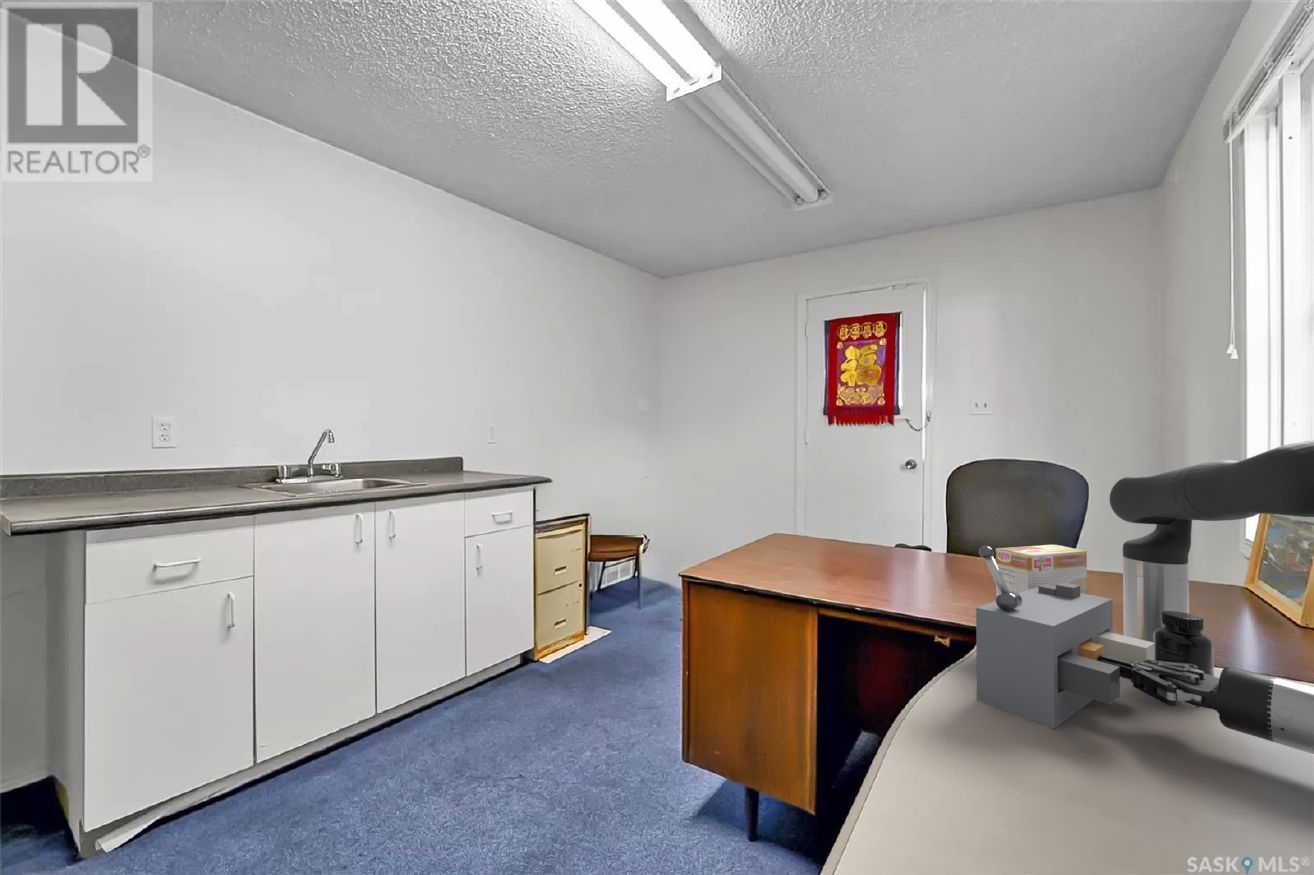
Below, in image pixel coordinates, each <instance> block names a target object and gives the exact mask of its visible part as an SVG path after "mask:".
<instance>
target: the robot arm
mask: <svg viewBox="0 0 1314 875" xmlns="http://www.w3.org/2000/svg"><path fill="white" fill-rule="evenodd" d="M1108 500H1109V504H1110V508H1111V510H1112V511H1113V512H1114V514H1115V515H1116V516H1117V517H1118V518H1119V519H1121V520H1123V521H1125V522H1127V523H1130V524H1131V523H1132V524H1140V525H1143V524H1144V525H1156V526H1155V529H1153V531H1152V532H1150V533H1148V534H1146V535H1144V536H1142V537H1138V538H1133V539H1130V540H1126V541H1124V543H1123V545H1122V577H1123V578H1122V579H1123V580H1122V583H1123V584H1122V589H1123V590H1122V592H1123V593H1122V594H1123V595H1122V596H1123V599H1122V600H1123V613H1122V614H1123V625H1122V627H1123V636H1127V637H1132V638H1136V639H1140V640H1145V641H1149V642H1153V643H1154V639H1153V634H1154V631H1155V630H1156V629H1157V628H1159V627H1163V624H1162V623H1161V619H1162V612H1163V611H1176V612H1183V613H1188V614H1190V604H1189V602H1190V593H1189V591H1190V590H1189V583H1190V582H1189V581H1190V580H1189V554H1190V550H1191V547H1192V524H1193V521H1203V522H1205V521H1206V522H1221V521H1235V520H1237V521H1238V520H1243V519H1244V520H1245V519H1249V518H1253V517H1255V516H1258V515H1259V514H1260V515H1261V514H1263V515H1264V514H1265V515H1279V516H1291V517H1302V518H1314V439H1311V440H1305V441H1298V442H1292V443H1288V444H1283V445H1281V446H1278V447H1274V448H1272V449H1269V450H1267V451H1264V452H1261V453H1259V454H1255V455H1253V456H1251V457H1247V458H1245V459H1242V460H1235V459H1234V460H1232V459H1223V460H1213V461H1206V462H1203V463H1197V464H1194V465H1190V466H1187V467H1182V468H1179V469H1174V470H1170V471H1166V472H1163V473H1158V474H1155V475H1151V476H1125V477H1122V478H1121V479H1118V481H1117V482H1115V483H1114V485H1113V486H1112V488H1111V491H1110V494H1109V499H1108ZM1097 661H1100V662H1104V663H1108V664H1111V665H1115V666H1119V667H1120V678H1122V679H1127V680H1130V682H1131V683H1132V687H1133V688H1134V689H1136V690H1138V691H1140V692H1142V693H1143V694H1145V695H1148V696H1149V697H1151V698H1153V699H1155V700H1157V701H1159V702H1161V703H1162V704H1164V705H1166V706H1168V707H1173V708H1174V707H1177V706H1178V702H1180V703H1181V704H1183V705H1186V706H1189V707H1192V708H1198V709H1199V708H1203V709H1204V708H1205V709H1210V710H1214V711H1216V712H1217V713H1218V718H1219V721H1220V723H1221V724H1222V725H1223V727H1225V728H1227V729H1229V730H1233V731H1236V732H1240V733H1243V734H1247V735H1249V736H1251V737H1256V738H1259V739H1262V740H1266V741H1268V742H1272V743H1275V744H1279V745H1282V746H1285V747H1287V748H1288V747H1289V748H1292V749H1295V750H1299V751H1302V752H1304V753H1305V752H1306V753H1309V754H1312V755H1313V754H1314V686H1312V685H1308V684H1304V683H1301V682H1296V681H1292V680H1288V679H1284V678H1279V677H1276V676H1271V675H1266V674H1263V673H1258V672H1254V671H1250V670H1246V669H1242V668H1238V667H1233V666H1225V667H1223V668H1222V670H1221V672H1220V675H1219V677H1217V676H1215V675H1214V676H1212V675H1208V674H1204V672H1203V671H1201V670H1198V667H1197V666H1195V665H1193V664H1184V663H1174V662H1165V661H1155V660H1148V659H1147V660H1144V662H1142V661H1134V663H1133V662H1132V661H1128V660H1124V659H1121V658H1117V657H1113V656H1109V655H1105V654H1102V655H1100V656H1099V657H1098V658H1097Z"/></svg>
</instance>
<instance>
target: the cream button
mask: <svg viewBox="0 0 1314 875" xmlns="http://www.w3.org/2000/svg"><path fill="white" fill-rule="evenodd" d="M1098 644H1100V645H1103V647H1104V654H1105V655H1109V656H1113V657H1117V658H1121V659H1124V660H1128V661H1132V662H1133V663H1134V661H1142V662H1144V660H1147V659H1148V660H1155V648H1154V643H1153V642H1149V641H1145V640H1140V639H1136V638H1132V637H1127V636H1124V634H1120V633H1119V634H1118V633H1114V632H1113V633H1110V632H1106V631H1103V632H1101V633H1099V634H1098Z"/></svg>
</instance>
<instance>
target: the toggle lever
mask: <svg viewBox="0 0 1314 875" xmlns="http://www.w3.org/2000/svg"><path fill="white" fill-rule="evenodd" d="M978 555H979V556H980V557H981V558H983V559H984V560H985V563H986V564H987V567H988V569H989V572H990V574H991V575H992V576H991V577H993V580H994V582H995V584H997V587H998V589H999V591H1000V593H1001V594H1000V595H998V596H997V598H995V601H996V604H997V606H998V607H999V608H1000V609H1002V610H1005V611H1009V610H1012V609H1014V608H1017V607H1019V606H1021V604H1022V598H1021V596H1020V595H1019V594H1018V593H1016V592H1013V591H1010V592H1009V590H1008V587H1007V585H1006V583H1005V581H1004V579H1003V577H1002V575H1001V573H1000V571H999V568H998V566H997V564H996V559H995V558H994V555H995V552H994V550H993V548H992V547H991V546H989V545H982V546H981V547H980V548H978Z"/></svg>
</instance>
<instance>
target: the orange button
mask: <svg viewBox="0 0 1314 875" xmlns="http://www.w3.org/2000/svg"><path fill="white" fill-rule="evenodd" d="M1102 654H1104V647H1103V645H1100V644H1096V643H1092V642H1088V641H1084V642H1083V643H1081V644H1079V656H1082V657H1086V658H1089V659H1093V660H1097V658H1098V657H1099V656H1100V655H1102Z"/></svg>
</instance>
